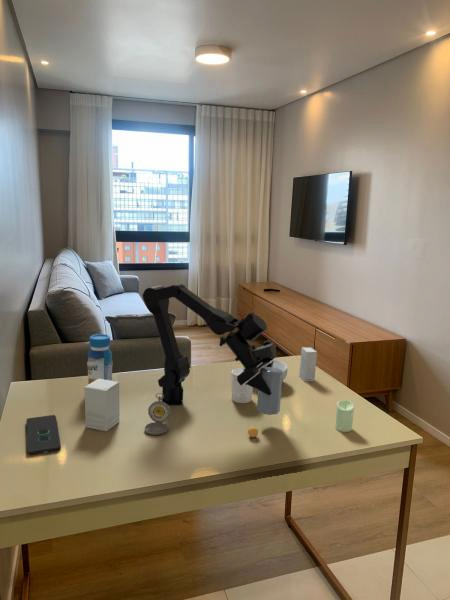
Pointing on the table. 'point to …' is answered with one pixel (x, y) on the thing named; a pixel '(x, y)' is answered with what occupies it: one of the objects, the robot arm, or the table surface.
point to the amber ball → (252, 431)
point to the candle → (344, 416)
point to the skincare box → (308, 364)
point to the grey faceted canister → (274, 382)
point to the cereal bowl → (280, 367)
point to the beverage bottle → (99, 358)
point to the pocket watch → (158, 425)
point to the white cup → (240, 388)
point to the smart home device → (42, 435)
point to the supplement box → (102, 404)
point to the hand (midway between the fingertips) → (274, 390)
